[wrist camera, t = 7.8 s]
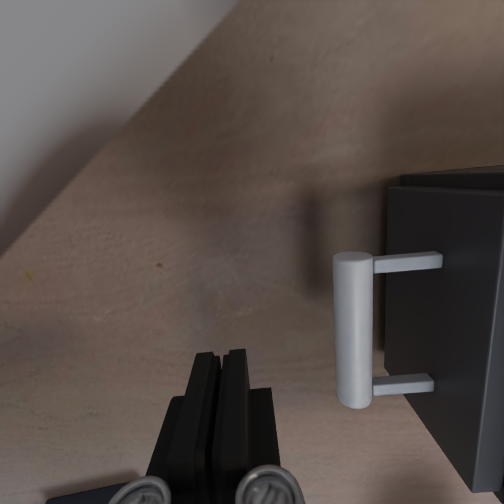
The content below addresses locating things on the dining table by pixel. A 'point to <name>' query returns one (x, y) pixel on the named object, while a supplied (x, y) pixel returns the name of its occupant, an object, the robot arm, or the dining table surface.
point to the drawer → (433, 322)
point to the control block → (89, 496)
